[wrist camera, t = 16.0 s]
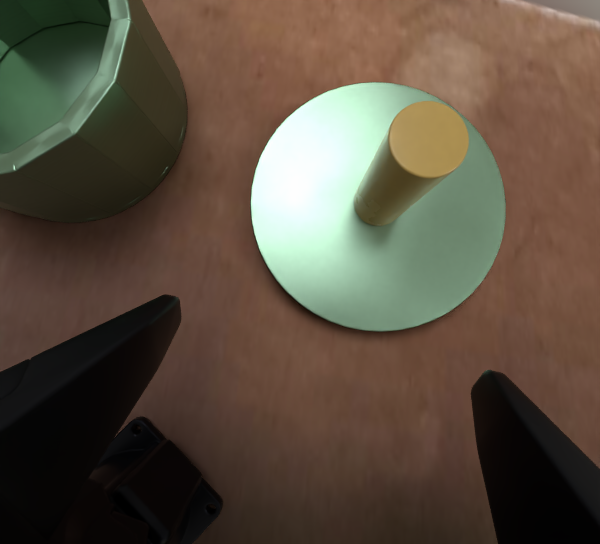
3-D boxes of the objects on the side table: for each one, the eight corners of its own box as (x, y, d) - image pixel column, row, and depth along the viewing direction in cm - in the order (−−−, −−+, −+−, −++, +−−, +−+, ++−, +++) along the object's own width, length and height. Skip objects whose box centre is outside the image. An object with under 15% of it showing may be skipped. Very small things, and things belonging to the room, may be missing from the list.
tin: (204, 198, 17) (152, 144, 11) (-16, 242, 17) (-193, 211, 11) (168, -1, 18) (102, -151, 12) (-40, 39, 18) (-213, -94, 12)
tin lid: (444, 368, 17) (565, 427, 9) (214, 273, 17) (146, 252, 9) (525, 145, 18) (694, 30, 10) (307, 61, 18) (312, -109, 11)
